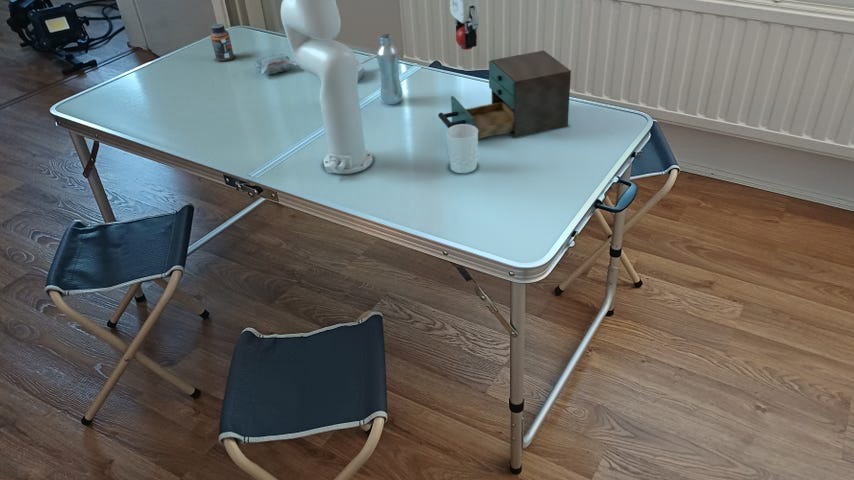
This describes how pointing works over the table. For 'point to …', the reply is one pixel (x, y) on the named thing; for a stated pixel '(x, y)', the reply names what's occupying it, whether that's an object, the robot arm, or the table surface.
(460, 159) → the white cup
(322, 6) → the robot arm
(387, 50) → the silver water bottle
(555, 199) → the table surface
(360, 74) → the small pan
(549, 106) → the cabinet
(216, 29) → the supplement bottle
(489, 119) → the drawer
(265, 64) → the packaged food
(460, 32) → the apple
